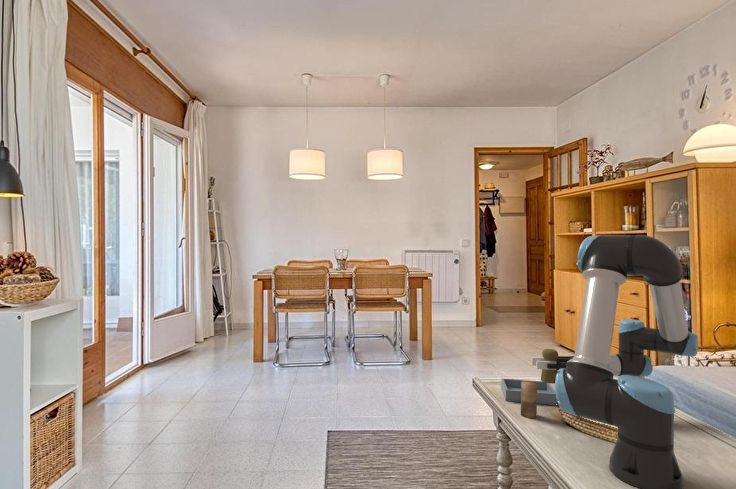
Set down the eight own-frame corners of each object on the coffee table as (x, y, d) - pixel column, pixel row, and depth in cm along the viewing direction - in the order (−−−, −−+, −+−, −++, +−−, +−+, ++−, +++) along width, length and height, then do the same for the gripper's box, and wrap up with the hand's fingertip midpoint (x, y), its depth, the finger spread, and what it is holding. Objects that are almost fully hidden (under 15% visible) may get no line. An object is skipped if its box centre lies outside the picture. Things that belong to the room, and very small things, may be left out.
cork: (537, 380, 147) (538, 349, 147) (544, 377, 151) (544, 346, 151) (555, 384, 143) (556, 352, 143) (561, 380, 147) (562, 349, 147)
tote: (557, 405, 152) (557, 394, 152) (505, 400, 155) (505, 390, 155) (548, 391, 166) (548, 381, 166) (501, 388, 170) (501, 378, 170)
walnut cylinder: (538, 419, 139) (538, 385, 139) (522, 417, 140) (522, 384, 140) (534, 413, 144) (535, 381, 144) (519, 411, 145) (520, 380, 145)
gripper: (615, 383, 138) (543, 381, 139) (590, 368, 155) (525, 367, 156) (616, 360, 138) (543, 358, 139) (590, 348, 155) (526, 346, 156)
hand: (534, 363), depth 147 cm, fingers closed on cork, 4 cm apart
